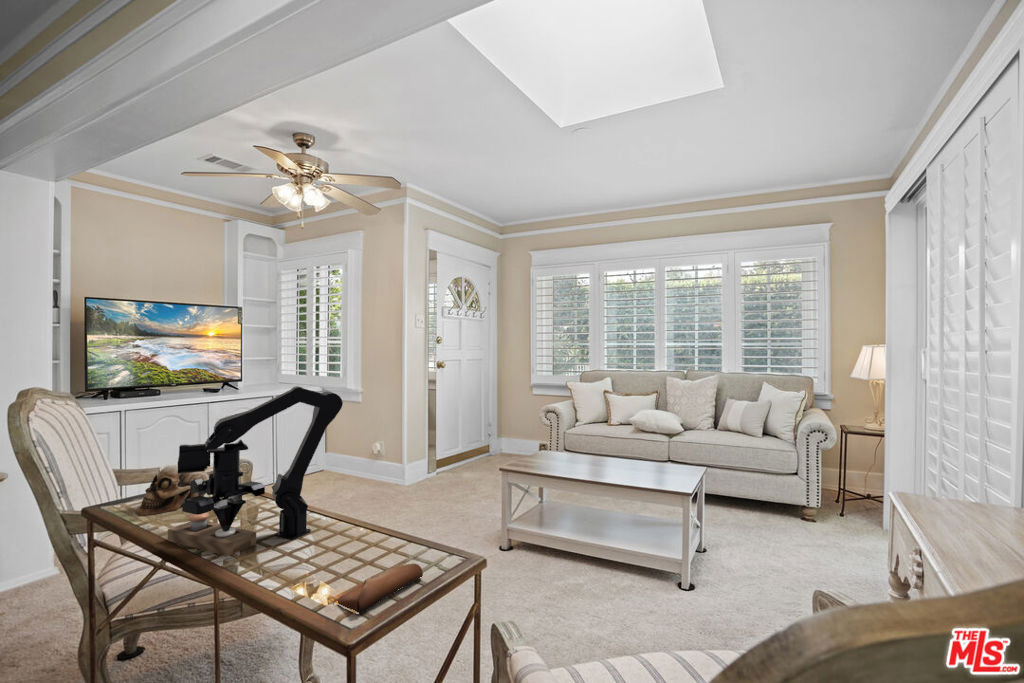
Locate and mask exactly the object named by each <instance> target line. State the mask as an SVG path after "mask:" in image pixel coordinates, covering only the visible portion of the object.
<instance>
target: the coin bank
mask: <svg viewBox="0 0 1024 683" xmlns="http://www.w3.org/2000/svg"><path fill="white" fill-rule="evenodd" d="M196 479H202V481H206V480H209V474H208V473H207V471H206V470H205V471H202V472H192V473H183V474H178V464H172V465H167V466H165V467H163V468H162V469H161V470H160V472H159V473H156V474H155V476H154V477H153V479H152V481H151V484H149V487H148V488H146V489H145V490H144V491H145V493H146V494H145V495H144V496H143V499H142V500H141V504H140V507H138V508H137V509H136V511H134V514H135V515H138V516H150V515H151V516H152V515H157V514H160V513H168V512H176V511H178V510H179V509H180V507H181V506H182V505H183V503H184V501H185V500H186V499H189V498H193V497H197V496H199V495H198V493H194V494H192V493H191V489H190V484H191V481H193V480H196ZM205 495H207V493H205V494H203V495H201V496H204V497H205Z"/></svg>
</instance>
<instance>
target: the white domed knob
mask: <svg viewBox="0 0 1024 683" xmlns="http://www.w3.org/2000/svg"><path fill="white" fill-rule="evenodd" d="M235 528H236V527H235ZM235 528H230V529H229V531H226V532H225V531H223V530H222V529H219V530H217V531H216V532H215V536H216V537H217V538H221V539H224V538H227V537H230V536H232V535H234V534H235Z"/></svg>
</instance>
